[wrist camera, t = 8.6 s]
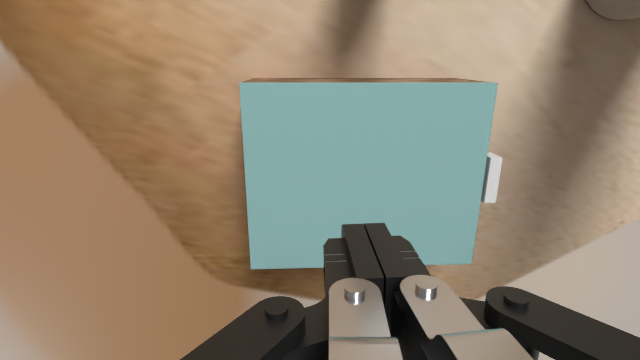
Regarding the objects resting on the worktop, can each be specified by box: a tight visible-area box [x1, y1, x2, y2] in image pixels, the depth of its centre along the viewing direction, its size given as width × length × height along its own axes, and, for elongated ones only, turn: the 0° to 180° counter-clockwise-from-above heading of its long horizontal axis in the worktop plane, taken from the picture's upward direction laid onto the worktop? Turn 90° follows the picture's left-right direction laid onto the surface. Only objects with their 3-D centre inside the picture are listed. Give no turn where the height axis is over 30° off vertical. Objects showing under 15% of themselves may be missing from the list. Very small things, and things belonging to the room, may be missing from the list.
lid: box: [239, 82, 503, 269], centre depth 32 cm, size 21×16×2 cm
